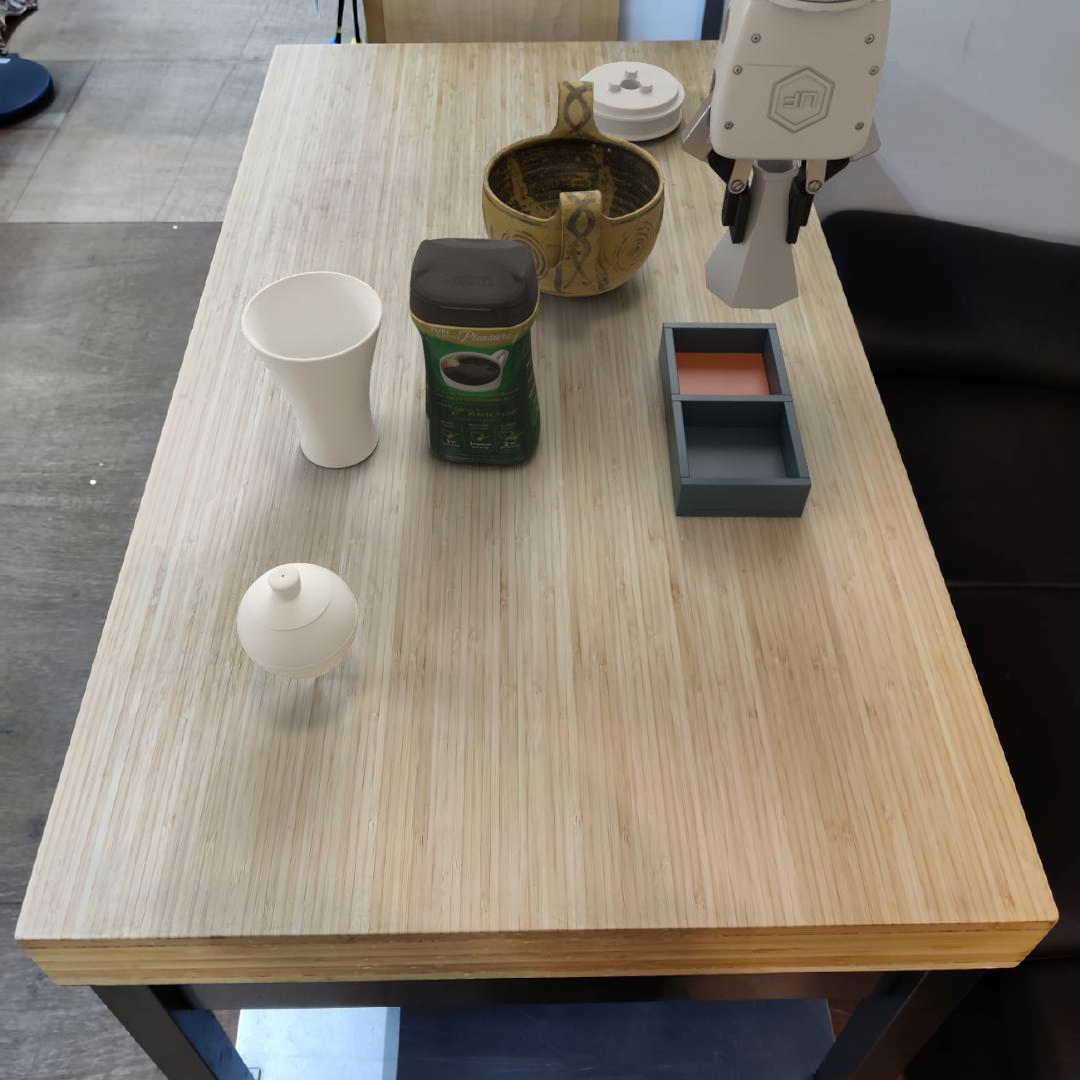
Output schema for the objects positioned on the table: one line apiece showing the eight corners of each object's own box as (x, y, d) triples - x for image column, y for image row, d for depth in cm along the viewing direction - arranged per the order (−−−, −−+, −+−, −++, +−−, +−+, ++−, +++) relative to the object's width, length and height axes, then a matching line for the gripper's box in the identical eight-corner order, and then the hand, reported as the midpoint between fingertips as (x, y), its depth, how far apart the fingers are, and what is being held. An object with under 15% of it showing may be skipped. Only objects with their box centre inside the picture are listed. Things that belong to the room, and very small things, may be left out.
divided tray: (801, 517, 79) (812, 485, 76) (675, 516, 79) (681, 484, 76) (767, 355, 91) (775, 322, 88) (658, 354, 91) (662, 321, 88)
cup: (378, 497, 80) (354, 371, 69) (257, 474, 81) (216, 348, 71) (417, 409, 86) (401, 281, 75) (305, 389, 88) (274, 261, 77)
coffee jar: (543, 407, 86) (545, 223, 72) (536, 474, 81) (536, 291, 67) (434, 401, 87) (414, 216, 72) (420, 467, 82) (395, 283, 67)
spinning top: (370, 624, 72) (344, 520, 63) (374, 717, 67) (347, 619, 58) (264, 637, 71) (222, 534, 62) (261, 731, 67) (215, 635, 57)
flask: (723, 320, 72) (746, 198, 64) (688, 262, 76) (706, 141, 69) (814, 304, 73) (847, 183, 65) (775, 248, 78) (802, 128, 70)
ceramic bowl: (663, 349, 91) (682, 206, 79) (480, 348, 91) (472, 204, 79) (648, 210, 105) (662, 71, 93) (489, 209, 105) (483, 69, 93)
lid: (681, 151, 112) (687, 109, 108) (571, 146, 113) (572, 103, 109) (680, 95, 120) (685, 54, 116) (577, 91, 121) (578, 50, 117)
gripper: (682, -15, 55) (651, 264, 69) (977, -14, 55) (885, 264, 69) (670, -69, 59) (644, 203, 74) (943, -68, 59) (863, 203, 74)
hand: (761, 230), depth 71 cm, fingers closed on flask, 3 cm apart
